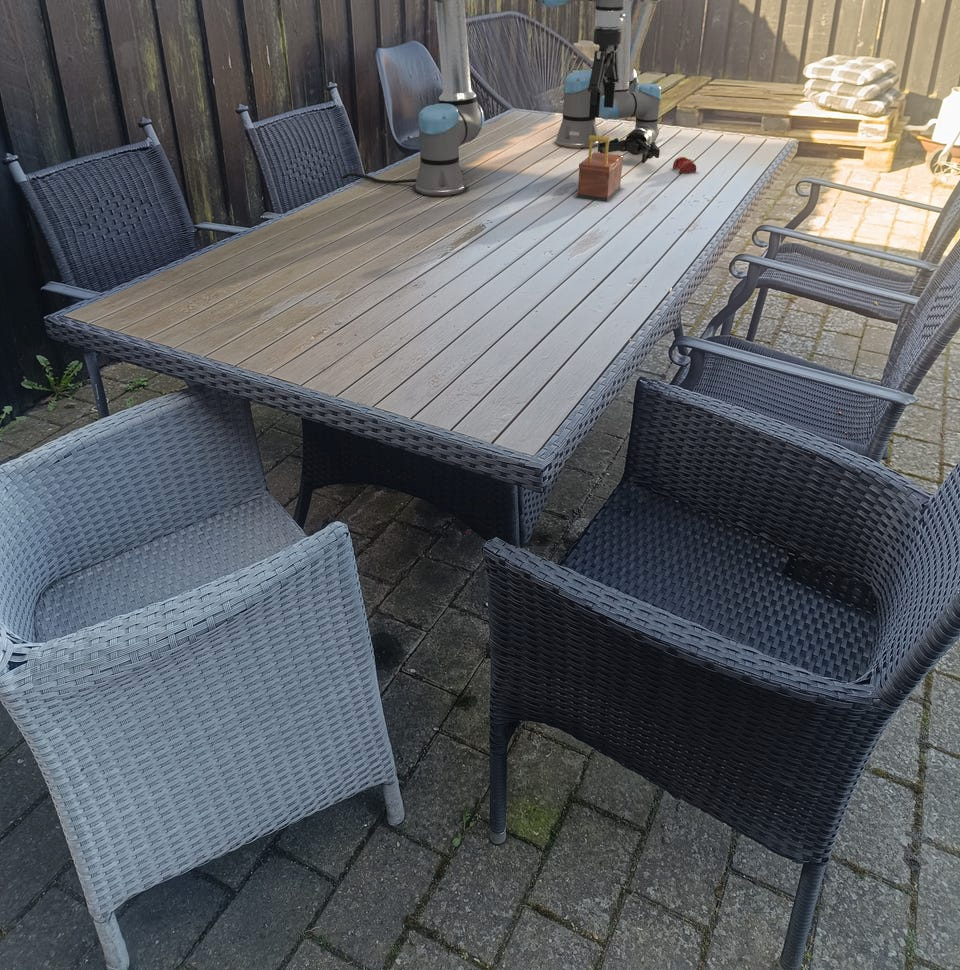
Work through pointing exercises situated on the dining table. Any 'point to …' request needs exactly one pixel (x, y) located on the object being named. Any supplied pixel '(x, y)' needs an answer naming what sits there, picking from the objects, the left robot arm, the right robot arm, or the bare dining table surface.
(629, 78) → the right robot arm
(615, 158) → the lid
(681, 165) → the dental model
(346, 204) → the dining table surface
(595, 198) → the chest
